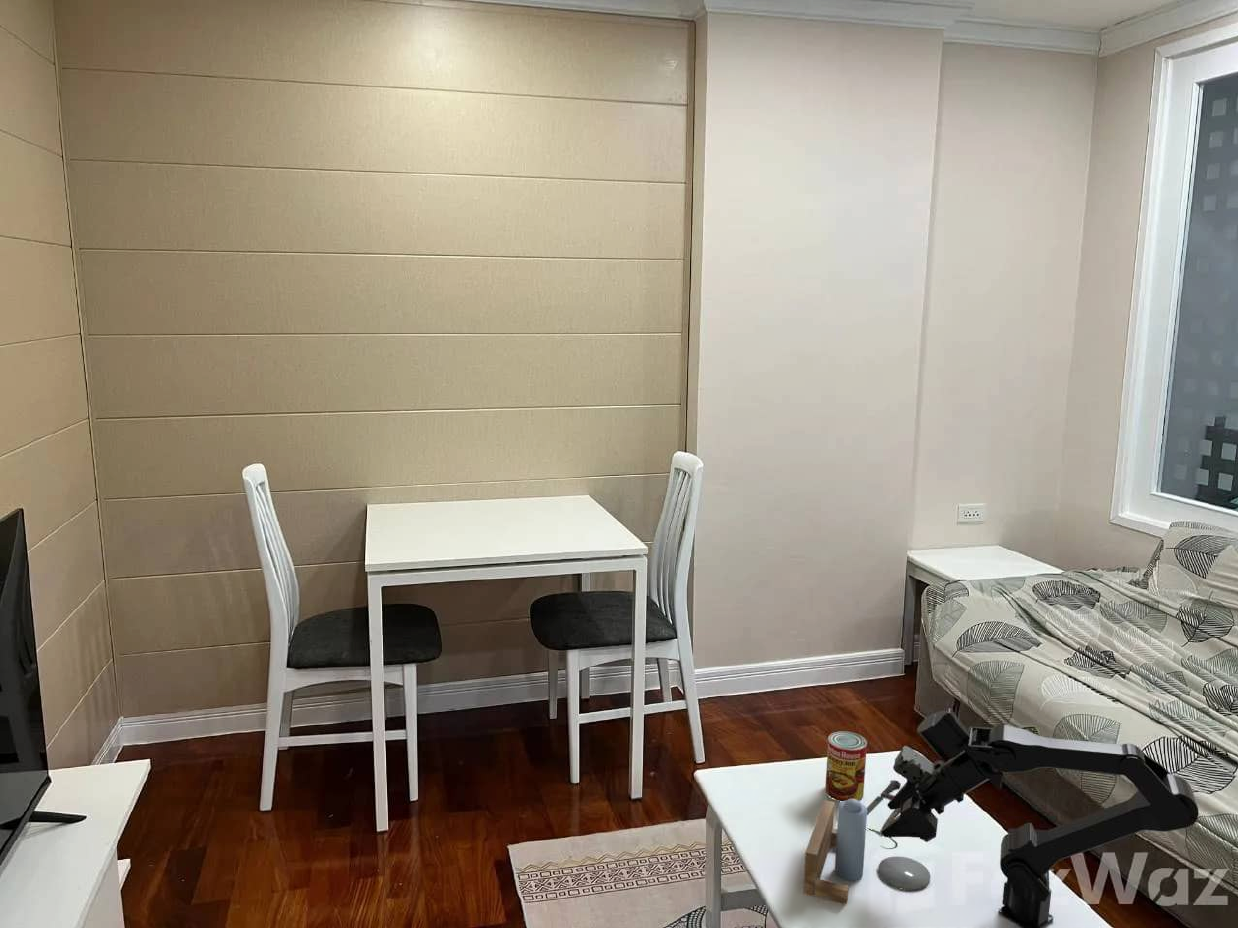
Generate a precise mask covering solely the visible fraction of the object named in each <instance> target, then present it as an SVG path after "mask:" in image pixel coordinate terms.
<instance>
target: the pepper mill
mask: <svg viewBox="0 0 1238 928" xmlns="http://www.w3.org/2000/svg"><path fill="white" fill-rule="evenodd" d="M837 808H838V811H837V812H838V813H837V827H836V829H837V840H836V845H835V859H834V861H835V862H834V873H835V875H836V876H837V877H838V878H839V879H841V880H842V881H846V882H851V881H853V882H858V881H860V880H862V878H863V877H862V876H864V875H863V874H864V863H865V862H864V861H865V850H866V849H865V848H866V833H867V830H866V828H867V819H868V818H867V817H868V815H867V806H866V805H865V804H863V803H861V802H860V801H858V800H856V799H848V800H847V801H843V802H840V803H838V807H837ZM857 880H858V881H857Z"/></svg>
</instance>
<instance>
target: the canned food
mask: <svg viewBox="0 0 1238 928" xmlns="http://www.w3.org/2000/svg"><path fill="white" fill-rule="evenodd" d="M827 738H828V739H827V751H826V752H827V756H826V768H825V769H826V772H825V787H824V789H825V790H824V791H826V792H825V794H826V795H827V797H829V796H830V797H831V798H830V797H829V798H830V799H832V798H834V799H835V800H834V799H833V800H834V801H836V800H839V801H842V802H843V801H847V800H848V799H856V800H858V801H859V800H860V801H861V800H862V799H864V798H863V797H864V790H865V777H866V766H867V761H866V760H867V747H868V741H867V740H866V738H865V737H863V736H862V735H860V734H859V733H855V732H852V731H851V732H850V731H846V730H845V731H835V732H832V733H830V734H829V736H828V737H827ZM839 801H838V802H839ZM860 801H859V802H860Z"/></svg>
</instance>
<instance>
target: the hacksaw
mask: <svg viewBox="0 0 1238 928" xmlns="http://www.w3.org/2000/svg"><path fill="white" fill-rule="evenodd" d="M896 789H901V782H899V781H898V780H895V779H894V780H893V779H892V780H890V781H889V784H888V786H887V787H886V788H885V789H884V790H883V791H882V792H881V793H880V796H879V795H878V796H876V797H875V799H874V800H873V801H871V803H870V804H869V805H868V806H866V808H867V816H869V815H870V813H871V812H873V810H874V809H875V808H876V807H877V806H878V805H879V804H880V803H881V802H882V801H883V799H884V798H888V799H889V800H890V801H891V799H892V798H893V797H894V796H895V795H894V794H891V793H892V792H893V791H894V790H896ZM900 810H901V808H898V809H893V810H892V812H891V814H889V816H888V818H887V819H886V820H885V821H884V823H883V825H882V827H881V829H880V830H879V831H878V830H876V829H874V828H867V827H866V828H867V829H869V830H870V831H871V832H873V833H875V834H876V835H878V836H879V837H880V838H882V837H884V836H883V835H882V833H881V831H882V830H883V829H884V828H885V827H886V826H887V825H889V824H890V823H891V822H892V821H893V820H894V819H895V818H897V817H898V816H899V815H900ZM871 829H872V830H871ZM869 830H868V831H869ZM870 831H869V832H870ZM888 838H889V839H890V840H891V841H892V842H893V843H894V844H895V846H893V847H890V848H889V847H884V846H882V845H880V847H881V848H882V849H886V850H893V849H896V848H898V845H899V844H898V841H896V840H894V839H893V837H888Z"/></svg>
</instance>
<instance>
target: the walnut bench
mask: <svg viewBox="0 0 1238 928" xmlns="http://www.w3.org/2000/svg"><path fill="white" fill-rule="evenodd" d="M834 813H835V801H831V800H830V801H829V800H825V799H823V801H822V805H821V806H820V810H819V813H818V815H817V818H816V821H815V825H814V827H813V829H812V833H811V836H810V838H809V840H808V841H809V842H808V843H807V847H806V850H805V855H804V872H803V890H802V891H803V892H802V893H803V894H806V895H809V896H812V897H817V898H821V899H825V900H828V901H829V900H830V901H833V902H837V903H840V904H844V903H845V904H844V905H847V903H848V899H849V885H845V884H842V883H837V882H833V881H830V880H826V879H823V878H821V877H822V873H823V871H824V867H825V865H826V864H825V863H826V861H827V858H828V855H829V851H830V848H831V845H832V846H836V840H837V828H834V818H835V817H834Z"/></svg>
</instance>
